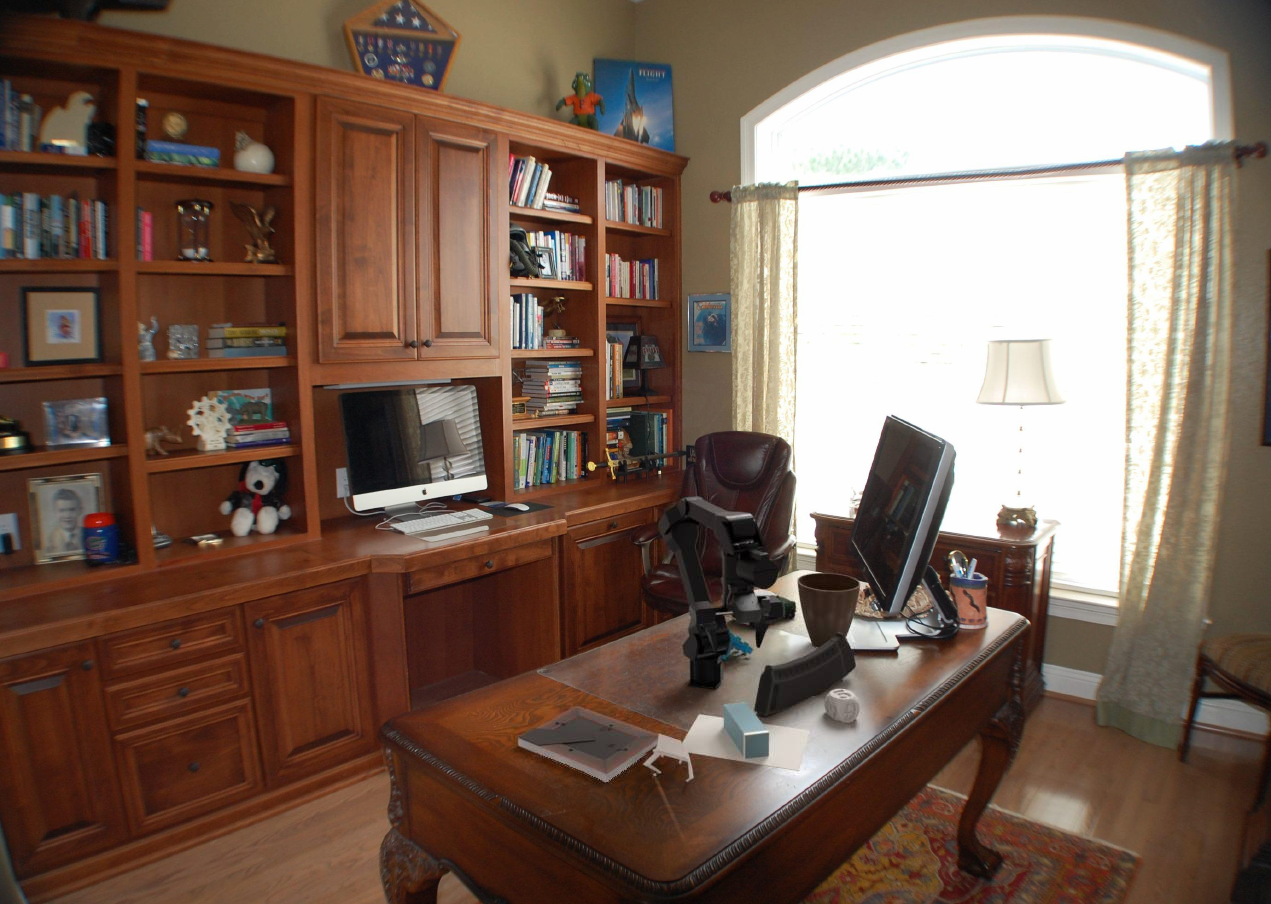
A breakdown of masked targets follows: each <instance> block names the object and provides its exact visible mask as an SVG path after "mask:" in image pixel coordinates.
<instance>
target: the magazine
mask: <svg viewBox="0 0 1271 904" xmlns="http://www.w3.org/2000/svg"><path fill="white" fill-rule="evenodd" d="M856 667H857V664H856V659H855V653H854V649H852V647H851V645H850V643H849V641H848V639H847V637H846V636H845V635H844V634H843V633H840V632H837V633H836V635H835V637H833V638H832V639H830V640H829V641H828V642H827V643H825V644H824V645H822V646H821V647H819V648H816V649H815V650H813V651H810V652H809V653H807V654H805V655H802V656H801V657H798V658H795V659H793V660H790V661H788V662H785V663H781V664H775V665H770V664H768V665H767V664H766V665H765V666H764V670H763V672H762V673H761V674H760V677H759V680H758V681H759V683H758V685H757V686H758V687H757V693H756V698H755V702H754V707H753V712H754V713H755V712H756V714H758V715H760V716H765V717H768V716H769V715H773V714H776V713H781V712H783V711H785V710H788V709H790V708H792V707H794V706H796V705H798V704H800V703H802V702H805V701H807V700H809V699H810V698H812V697H819V696H821V695H823V694H824V693H826V692H827V691H829V690H830V689H832V688H833V687H835V685H837V684H838V683H839V682H843V681H844V680H843V679H844V678H846V677H847V676H848V675H849V674H850V673H852V671H853V670H855V669H856Z"/></svg>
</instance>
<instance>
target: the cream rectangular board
mask: <svg viewBox="0 0 1271 904" xmlns="http://www.w3.org/2000/svg"><path fill="white" fill-rule="evenodd" d="M762 724H763V725H764V726H765V728H766V729H767V730H768V731H769V756H766V757H758V758H750V759H745V758H744V757H743V755H742V754H741V752H740V751H739V749H738V748H737V746H736V744H735V743H734V741H733V740H732V738H731V737H730V735H729V734H728V732H727V731H726V729H725V728H724V717H720V716H714V715H707V714H706V715H705V714H700V713H699V714H698V716H697V717H696V718H695V721H694V722H693V724H692V725H691V727H690V729H689V730H688V732H687V734H686V736H685V737H684V738H683V741H681V743H682V744H683V745H684V746H685V748H686V749H687V751H688V753H689V754H693V755H694V754H695V755H700V756H707V757H712V758H719V759H725V760H731V761H737V762H744V763H749V764H755V765H763V766H768V767H775V768H780V769H787V770H792V771H800V769H801V765H802V761H803V757H804V754H805V751H806V748H807V745H808V742H809V741H808V740H809V738H810V733H811V730H810V729H804V728H803V729H802V728H794V727H787V726H784V725H783V726H782V725H775V724H768V723H762Z"/></svg>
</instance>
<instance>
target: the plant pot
mask: <svg viewBox="0 0 1271 904" xmlns="http://www.w3.org/2000/svg"><path fill="white" fill-rule="evenodd" d="M860 589H861V582H860V581H859V580H858V579H857V578H855V577H852V576H850V575H845V574H839V573H833V572H813V573H807V574H804V575H801V576H799V577H797V591H798V598H799V602H800V603H799V604H800V609H801V612H802V617H803V618H802V619H803V622H804V624H805V625H804V626H805V628H806V631H807V634H808V637H809V640H810V643H811V645H812V646H813V647H815V648H816V649H818V648H819V647H821V646H822V645H824V644H825V643H827V642H828V641H829V640H830V639H832V638H833V637H835V635H836V633H837V632H840V633H843V634H844V635H845V636H846V638H847V636H848V634H849V631H850V628H851V626H852V622H853V619H854V616H855V612H856V609H857V605H858V599H859V595H860Z"/></svg>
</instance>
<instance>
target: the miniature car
mask: <svg viewBox="0 0 1271 904" xmlns="http://www.w3.org/2000/svg"><path fill="white" fill-rule="evenodd" d="M754 593H755V595H759V596H761V595H768V596H769V595H774V596H775V597H776V598H778V599H779V600H780V601H781V602H782V603H784V606H785V615H784V616H780V617H779V618H778V620H779V619H782V618H784V619H786V620H788V621H792V620H794V619H795V616H796V613H797V603H796V601H794V600H790V599H788V598H786V597H783V596H780V595H779V594H777V593H776V592H773V591H770V590H768V589H760V588H758V589H754ZM728 617H730V619H731V620H732V621H736V618H735V616H734V614H728ZM736 622H737V621H736ZM744 625H749V628H751V629H752V630H755V622H747V623H745V624H744Z"/></svg>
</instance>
